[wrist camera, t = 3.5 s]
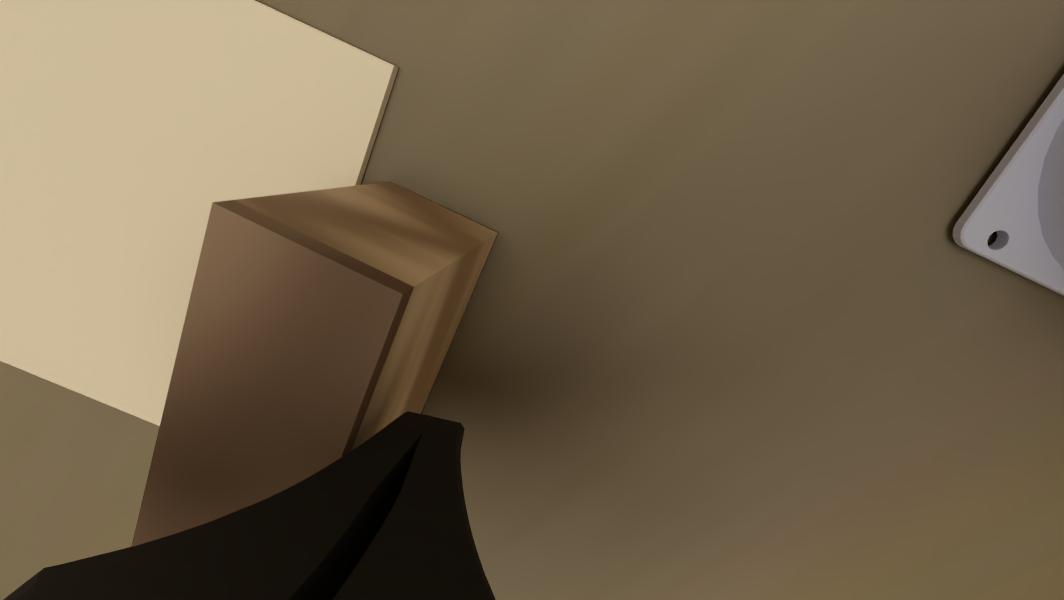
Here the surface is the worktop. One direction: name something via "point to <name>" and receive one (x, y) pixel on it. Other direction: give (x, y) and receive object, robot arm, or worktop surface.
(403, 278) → the oak slab
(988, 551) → the worktop surface
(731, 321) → the worktop surface
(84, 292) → the mat
